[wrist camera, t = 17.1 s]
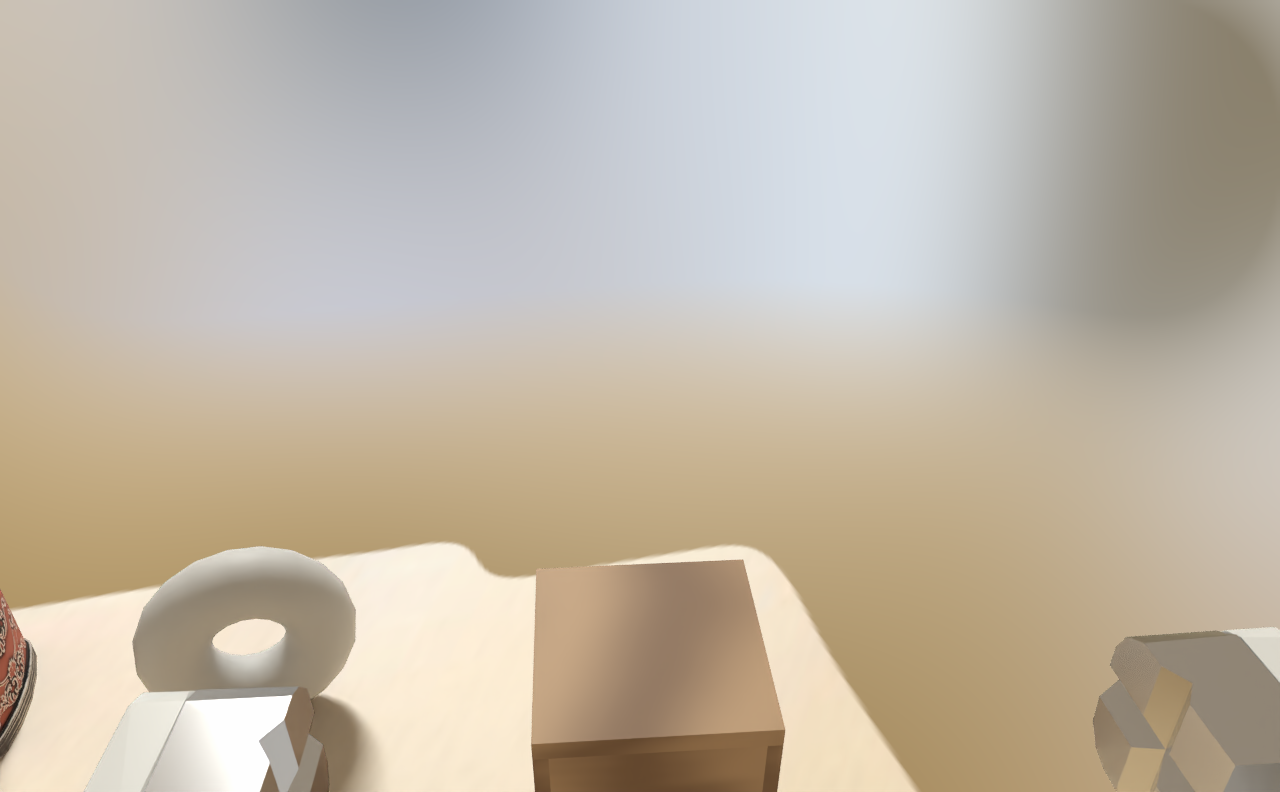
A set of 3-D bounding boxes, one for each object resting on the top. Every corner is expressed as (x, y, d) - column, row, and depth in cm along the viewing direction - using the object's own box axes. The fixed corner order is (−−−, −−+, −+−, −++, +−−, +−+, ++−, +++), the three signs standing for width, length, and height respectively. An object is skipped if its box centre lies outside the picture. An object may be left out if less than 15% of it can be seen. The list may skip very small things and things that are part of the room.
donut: (365, 655, 51) (334, 511, 46) (375, 703, 48) (344, 555, 43) (164, 711, 48) (106, 562, 42) (163, 765, 45) (101, 614, 40)
